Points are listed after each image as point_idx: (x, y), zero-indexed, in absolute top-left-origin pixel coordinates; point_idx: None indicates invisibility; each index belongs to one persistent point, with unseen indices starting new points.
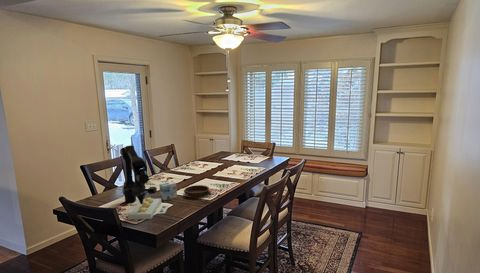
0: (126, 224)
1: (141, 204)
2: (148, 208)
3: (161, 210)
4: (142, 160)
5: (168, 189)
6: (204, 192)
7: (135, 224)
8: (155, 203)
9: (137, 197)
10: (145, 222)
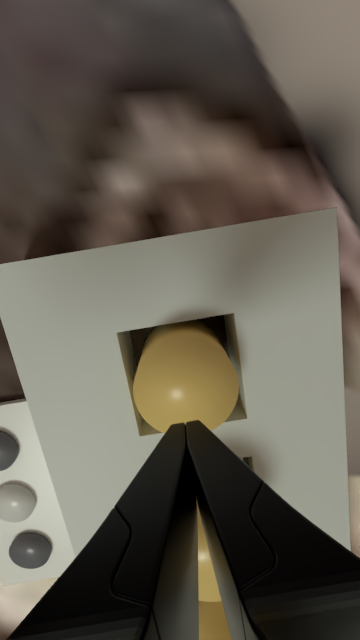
0: (262, 72)
1: None
2: (129, 446)
3: (2, 464)
4: None
5: None
6: None
7: (140, 79)
8: None
9: (338, 556)
10: (37, 151)
